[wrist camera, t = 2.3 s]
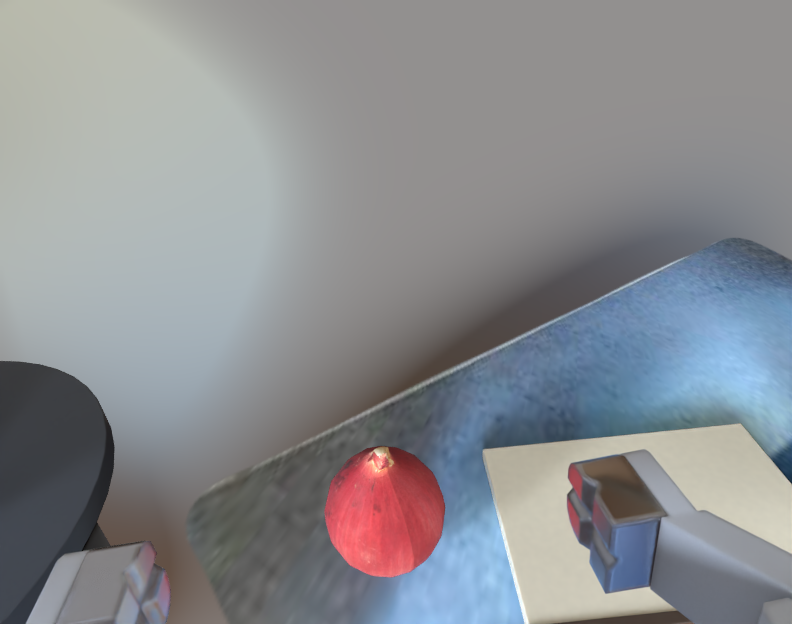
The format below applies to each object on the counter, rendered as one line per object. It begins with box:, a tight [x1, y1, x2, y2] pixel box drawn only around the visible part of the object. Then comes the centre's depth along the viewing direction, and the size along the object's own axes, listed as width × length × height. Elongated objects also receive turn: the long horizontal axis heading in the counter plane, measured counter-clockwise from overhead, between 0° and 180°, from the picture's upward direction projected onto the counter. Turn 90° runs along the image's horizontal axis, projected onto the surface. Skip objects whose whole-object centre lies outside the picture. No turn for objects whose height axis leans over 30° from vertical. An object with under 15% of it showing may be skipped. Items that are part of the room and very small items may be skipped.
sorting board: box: [483, 423, 792, 624], centre depth 25 cm, size 16×22×1 cm
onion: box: [325, 446, 445, 577], centre depth 27 cm, size 6×6×8 cm
